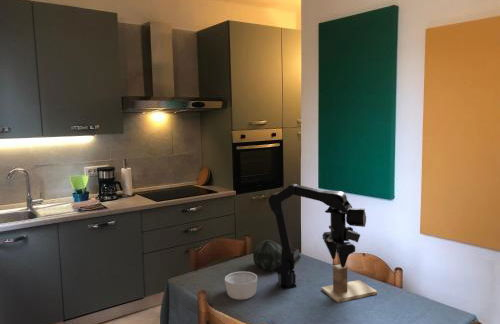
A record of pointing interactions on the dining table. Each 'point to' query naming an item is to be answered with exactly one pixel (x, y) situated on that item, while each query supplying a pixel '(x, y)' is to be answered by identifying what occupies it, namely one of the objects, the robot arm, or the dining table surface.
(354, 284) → the birch board
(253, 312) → the dining table surface
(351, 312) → the dining table surface
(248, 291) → the ramekin
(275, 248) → the squash
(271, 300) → the dining table surface
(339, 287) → the walnut block
